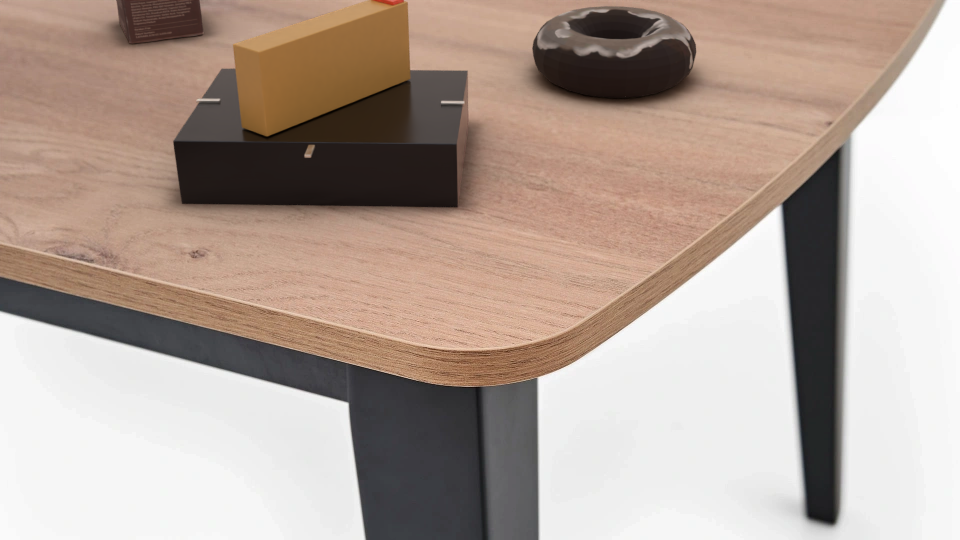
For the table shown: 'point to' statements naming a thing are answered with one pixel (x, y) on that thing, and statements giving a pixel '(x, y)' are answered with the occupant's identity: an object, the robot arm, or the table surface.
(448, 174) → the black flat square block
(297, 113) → the tan slab
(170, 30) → the box
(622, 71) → the donut
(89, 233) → the table surface
